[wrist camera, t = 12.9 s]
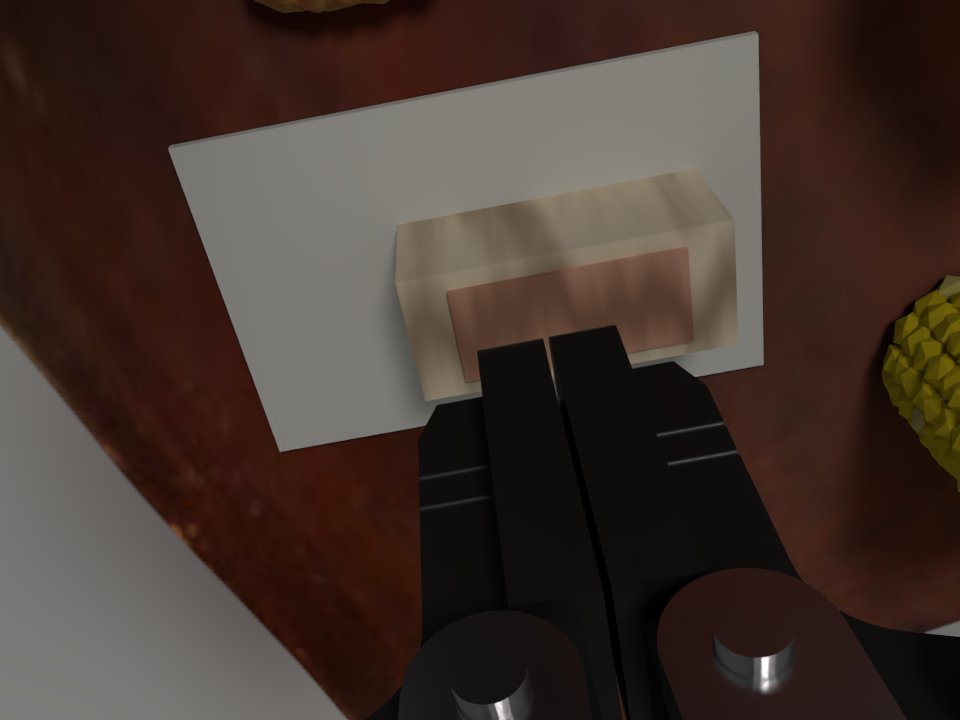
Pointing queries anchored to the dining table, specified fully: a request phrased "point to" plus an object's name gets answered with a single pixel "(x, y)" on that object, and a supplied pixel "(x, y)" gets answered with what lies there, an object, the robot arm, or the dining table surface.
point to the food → (929, 372)
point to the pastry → (313, 4)
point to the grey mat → (449, 213)
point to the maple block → (570, 275)
